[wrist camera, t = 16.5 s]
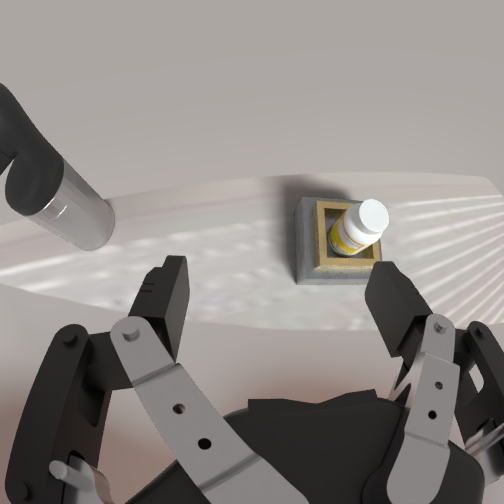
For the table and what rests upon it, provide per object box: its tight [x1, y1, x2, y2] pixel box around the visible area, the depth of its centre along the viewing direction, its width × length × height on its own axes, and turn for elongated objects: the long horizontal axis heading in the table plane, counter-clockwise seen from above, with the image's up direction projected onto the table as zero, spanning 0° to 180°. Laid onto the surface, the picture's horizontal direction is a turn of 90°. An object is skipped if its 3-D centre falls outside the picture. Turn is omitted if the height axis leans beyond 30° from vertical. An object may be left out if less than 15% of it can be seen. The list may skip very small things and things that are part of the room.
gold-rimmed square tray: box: [295, 196, 382, 285], centre depth 40 cm, size 12×12×8 cm
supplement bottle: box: [328, 199, 389, 257], centre depth 33 cm, size 5×5×10 cm
